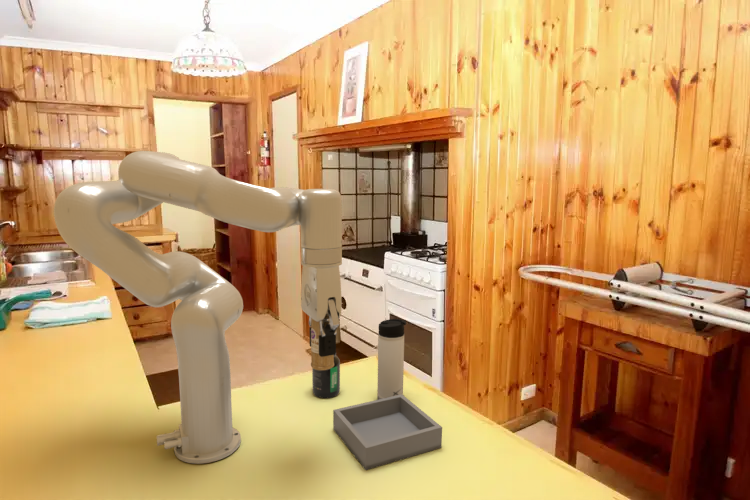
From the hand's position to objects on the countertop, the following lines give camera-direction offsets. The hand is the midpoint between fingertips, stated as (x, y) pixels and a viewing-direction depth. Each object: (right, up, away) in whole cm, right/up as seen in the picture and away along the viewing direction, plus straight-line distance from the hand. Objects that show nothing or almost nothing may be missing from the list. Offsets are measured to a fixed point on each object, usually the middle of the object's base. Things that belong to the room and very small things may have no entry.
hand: (322, 349), depth 91 cm
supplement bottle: (-2, -17, +29) cm, 34 cm away
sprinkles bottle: (0, -4, +1) cm, 4 cm away
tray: (+12, -20, +9) cm, 25 cm away
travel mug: (+14, -18, +26) cm, 35 cm away
